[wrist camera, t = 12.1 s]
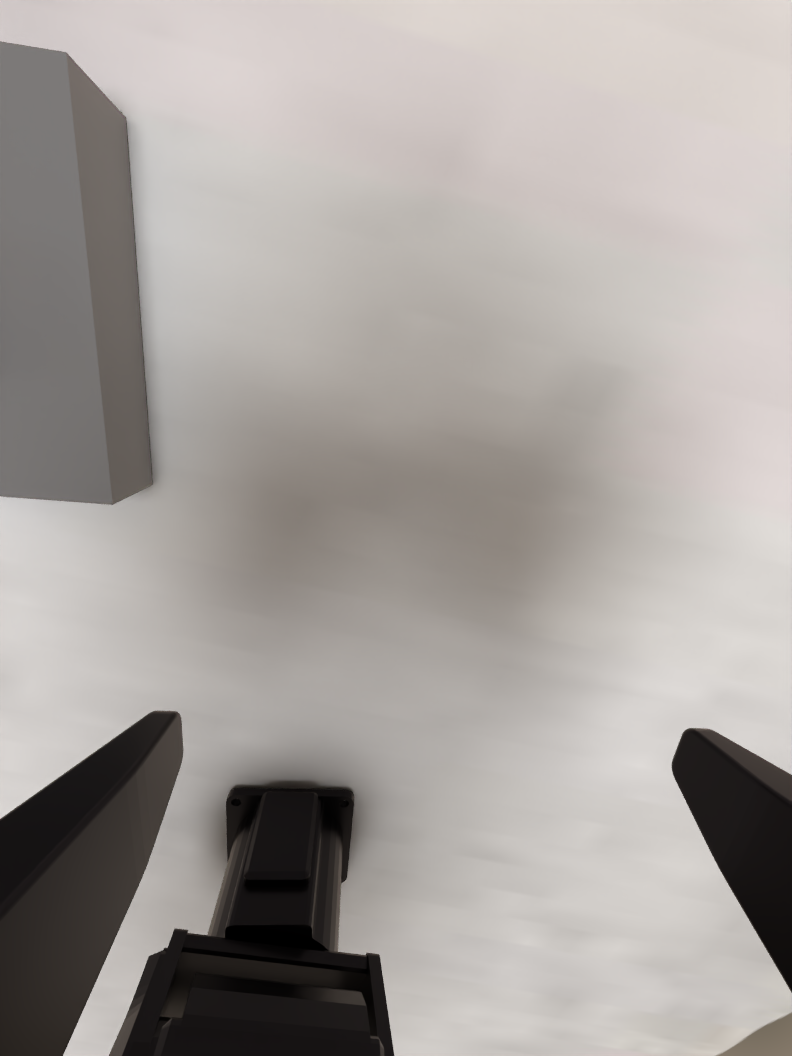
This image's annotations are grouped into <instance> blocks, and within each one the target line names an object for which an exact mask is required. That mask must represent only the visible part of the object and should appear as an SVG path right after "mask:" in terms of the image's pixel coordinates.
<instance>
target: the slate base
mask: <svg viewBox="0 0 792 1056" xmlns="http://www.w3.org/2000/svg"><path fill="white" fill-rule="evenodd" d="M151 485H153V484H152V471H151V457H150V443H149V429H148V416H147V402H146V388H145V374H144V361H143V347H142V333H141V319H140V306H139V292H138V278H137V265H136V251H135V237H134V223H133V210H132V196H131V182H130V168H129V155H128V141H127V127H126V117H125V116H124V115H123V114H122V113H121V112H120V111H119V110H118V109H117V107H116V106H115V105H114V104H113V103H112V102H111V101H110V100H109V99H108V98H107V96H106V95H105V94H104V93H103V92H102V91H101V90H100V89H99V88H98V87H97V86H96V84H95V83H94V82H93V81H92V80H91V79H90V78H89V77H88V76H87V75H86V74H85V72H84V71H83V70H82V69H81V68H80V67H79V66H78V65H77V64H76V63H75V61H74V60H73V59H72V58H71V57H70V56H69V55H68V54H67V53H66V52H61V51H55V50H49V49H43V48H37V47H30V46H24V45H18V44H12V43H6V42H0V496H3V497H16V498H30V499H43V500H57V501H70V502H84V503H97V504H111V505H113V504H115V503H117V502H119V501H121V500H123V499H125V498H127V497H129V496H131V495H133V494H135V493H137V492H139V491H141V490H143V489H145V488H147V487H149V486H151Z"/></svg>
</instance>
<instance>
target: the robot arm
mask: <svg viewBox="0 0 792 1056" xmlns="http://www.w3.org/2000/svg"><path fill="white" fill-rule="evenodd" d="M182 758H183V738H182V722H181V716H180V714H179V713H178V712H176V711H153V712H151V713H149V714H148V715H146V716H145V717H143V718H142V719H141V720H139V721H138V722H136V723H135V724H134V725H132V726H131V727H129V728H128V729H127V730H125V731H124V732H122V733H121V734H119V735H118V736H117V737H115V738H114V739H112V740H111V741H110V742H108V743H107V744H105V745H104V746H103V747H101V748H100V749H98V750H97V751H95V752H94V753H93V754H91V755H90V756H88V757H87V758H86V759H84V760H83V761H81V762H80V763H79V764H77V765H76V766H74V767H73V768H72V769H70V770H69V771H67V772H66V773H64V774H63V775H62V776H60V777H59V778H57V779H56V780H55V781H53V782H52V783H50V784H49V785H48V786H46V787H45V788H43V789H42V790H40V791H39V792H38V793H36V794H35V795H33V796H32V797H31V798H29V799H28V800H26V801H25V802H24V803H22V804H21V805H19V806H18V807H16V808H15V809H14V810H12V811H11V812H9V813H8V814H7V815H5V816H4V817H2V818H1V819H0V1056H63V1054H64V1052H65V1049H66V1047H67V1045H68V1043H69V1040H70V1038H71V1036H72V1034H73V1032H74V1029H75V1027H76V1025H77V1023H78V1020H79V1018H80V1016H81V1014H82V1011H83V1009H84V1007H85V1005H86V1002H87V1000H88V998H89V996H90V993H91V991H92V989H93V987H94V984H95V982H96V980H97V978H98V975H99V973H100V971H101V969H102V966H103V964H104V962H105V960H106V958H107V955H108V953H109V951H110V949H111V946H112V944H113V942H114V940H115V937H116V935H117V933H118V931H119V928H120V926H121V924H122V922H123V919H124V917H125V915H126V913H127V910H128V908H129V906H130V904H131V901H132V899H133V897H134V895H135V893H136V890H137V888H138V886H139V883H140V881H141V879H142V876H143V874H144V871H145V869H146V866H147V864H148V861H149V858H150V855H151V852H152V850H153V847H154V844H155V841H156V838H157V835H158V832H159V829H160V826H161V823H162V820H163V817H164V814H165V811H166V808H167V805H168V802H169V799H170V796H171V793H172V790H173V787H174V784H175V781H176V778H177V775H178V772H179V770H180V766H181V763H182ZM672 772H673V775H674V778H675V780H676V782H677V784H678V786H679V788H680V790H681V792H682V794H683V796H684V798H685V800H686V802H687V804H688V806H689V808H690V810H691V813H692V815H693V817H694V819H695V821H696V823H697V825H698V827H699V829H700V831H701V833H702V835H703V837H704V839H705V841H706V843H707V845H708V847H709V849H710V851H711V853H712V855H713V857H714V859H715V861H716V863H717V865H718V867H719V869H720V871H721V872H722V874H723V876H724V878H725V879H726V881H727V883H728V885H729V887H730V888H731V890H732V892H733V893H734V895H735V897H736V898H737V900H738V902H739V904H740V905H741V907H742V909H743V910H744V912H745V914H746V916H747V917H748V919H749V921H750V922H751V924H752V926H753V927H754V929H755V931H756V933H757V934H758V936H759V938H760V939H761V941H762V943H763V944H764V946H765V948H766V950H767V951H768V953H769V955H770V956H771V958H772V960H773V962H774V963H775V965H776V967H777V968H778V970H779V972H780V973H781V975H782V977H783V979H784V980H785V982H786V984H787V985H788V987H789V989H790V991H791V992H792V775H791V774H789V773H787V772H786V771H784V770H782V769H780V768H778V767H777V766H775V765H773V764H771V763H770V762H768V761H766V760H764V759H763V758H761V757H759V756H757V755H756V754H754V753H752V752H750V751H748V750H747V749H745V748H743V747H741V746H740V745H738V744H736V743H734V742H733V741H731V740H729V739H727V738H726V737H724V736H722V735H720V734H719V733H717V732H715V731H713V730H710V729H703V728H689V729H686V730H685V731H684V732H683V734H682V736H681V739H680V742H679V744H678V747H677V750H676V752H675V755H674V758H673V761H672ZM343 800H346V801H343ZM353 807H354V795H353V793H352V792H351V791H349V790H320V789H259V788H236V789H233V790H231V791H230V792H229V795H228V798H227V801H226V815H227V853H228V864H227V867H226V871H225V874H224V878H223V881H222V885H221V889H220V892H219V896H218V899H217V903H216V906H215V910H214V914H213V917H212V921H211V924H210V928H209V931H208V935H199V934H191V933H188V930H184V929H176V928H175V929H174V932H173V935H172V938H171V940H170V943H169V946H168V948H164V950H163V951H160V952H158V953H156V954H153V955H151V956H149V958H148V960H147V963H146V966H145V969H144V971H143V974H142V977H141V979H140V982H139V985H138V987H137V990H136V993H135V995H134V998H133V1001H132V1003H131V1006H130V1008H129V1011H128V1013H127V1016H126V1018H125V1020H124V1023H123V1025H122V1027H121V1029H120V1032H119V1034H118V1036H117V1039H116V1041H115V1043H114V1045H113V1048H112V1050H111V1052H110V1054H109V1056H394V1051H393V1045H392V1038H391V1031H390V1024H389V1017H388V1010H387V1003H386V996H385V990H384V983H383V976H382V969H381V962H380V956H379V954H373V953H366V955H359V954H351V953H343V952H338V938H339V916H340V894H341V883H342V882H344V881H345V880H346V879H347V871H348V861H349V850H350V839H351V829H352V818H353Z"/></svg>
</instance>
